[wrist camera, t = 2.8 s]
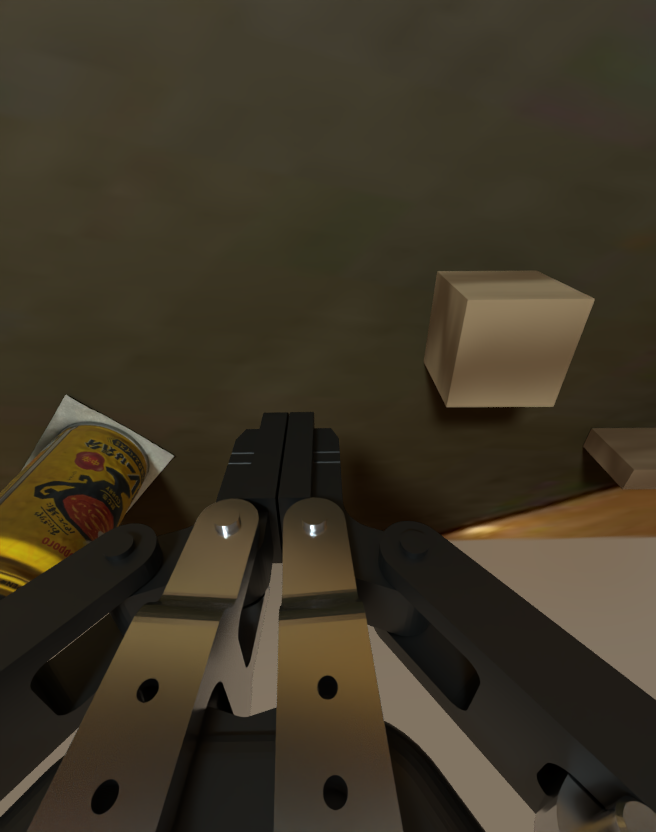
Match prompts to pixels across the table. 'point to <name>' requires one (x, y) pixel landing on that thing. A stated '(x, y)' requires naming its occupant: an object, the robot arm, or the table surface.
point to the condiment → (71, 491)
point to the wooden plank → (625, 455)
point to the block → (502, 337)
